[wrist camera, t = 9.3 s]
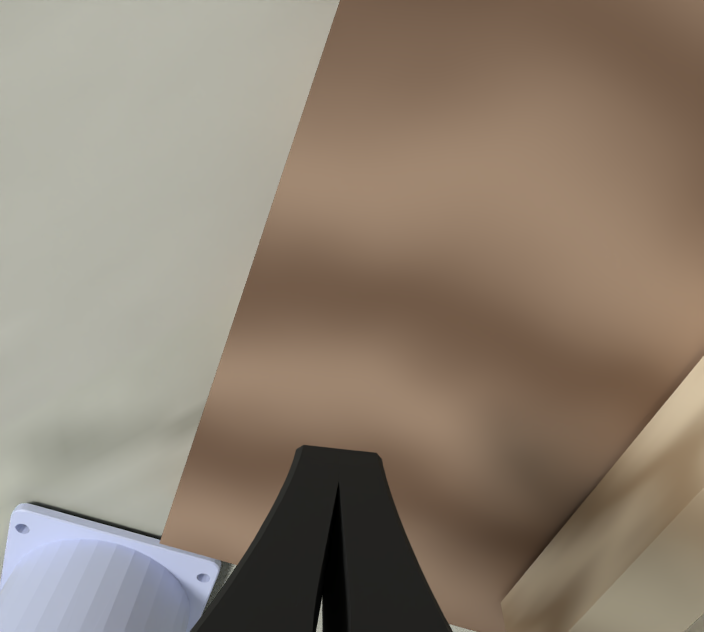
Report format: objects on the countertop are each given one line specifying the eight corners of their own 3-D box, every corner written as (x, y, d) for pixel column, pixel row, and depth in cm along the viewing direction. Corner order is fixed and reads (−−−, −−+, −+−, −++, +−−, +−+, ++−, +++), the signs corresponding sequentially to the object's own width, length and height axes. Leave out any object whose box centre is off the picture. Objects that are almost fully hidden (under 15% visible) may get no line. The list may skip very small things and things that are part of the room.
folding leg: (556, 644, 24) (585, 755, 21) (484, 622, 23) (502, 732, 20) (923, 252, 16) (1069, 331, 13) (826, 206, 15) (949, 276, 12)
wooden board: (599, 623, 27) (642, 753, 22) (175, 500, 24) (130, 622, 20) (1064, 114, 16) (1316, 173, 12) (409, -201, 14) (425, -275, 9)
